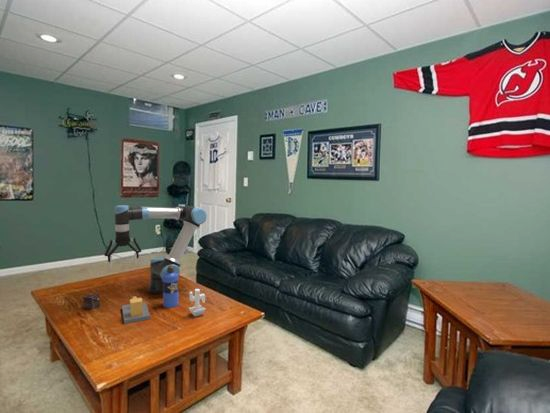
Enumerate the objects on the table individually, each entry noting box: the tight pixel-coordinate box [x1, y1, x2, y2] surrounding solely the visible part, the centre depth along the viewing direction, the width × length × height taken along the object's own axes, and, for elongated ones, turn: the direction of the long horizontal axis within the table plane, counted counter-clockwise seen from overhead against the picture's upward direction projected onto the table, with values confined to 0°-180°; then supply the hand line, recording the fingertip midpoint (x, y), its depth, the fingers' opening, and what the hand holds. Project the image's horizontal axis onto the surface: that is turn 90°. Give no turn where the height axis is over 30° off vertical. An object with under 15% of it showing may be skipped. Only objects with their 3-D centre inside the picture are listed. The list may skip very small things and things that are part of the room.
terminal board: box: [121, 296, 151, 325], centre depth 176 cm, size 13×22×8 cm, turn 29°
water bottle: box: [162, 265, 179, 309], centre depth 189 cm, size 9×9×25 cm
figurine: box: [188, 288, 207, 317], centre depth 177 cm, size 7×9×15 cm
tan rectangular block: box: [129, 297, 144, 317], centre depth 171 cm, size 6×6×8 cm
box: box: [82, 293, 100, 310], centre depth 184 cm, size 6×6×7 cm
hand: (123, 265), depth 186 cm, fingers open, 13 cm apart
